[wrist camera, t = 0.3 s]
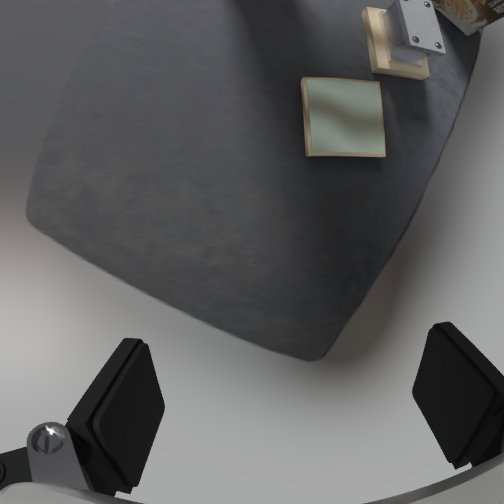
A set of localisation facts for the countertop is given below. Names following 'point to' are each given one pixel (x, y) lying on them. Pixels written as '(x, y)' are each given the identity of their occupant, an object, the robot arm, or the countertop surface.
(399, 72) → the beige piece
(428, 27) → the housing
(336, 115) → the stand
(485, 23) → the coffee box
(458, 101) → the countertop surface
